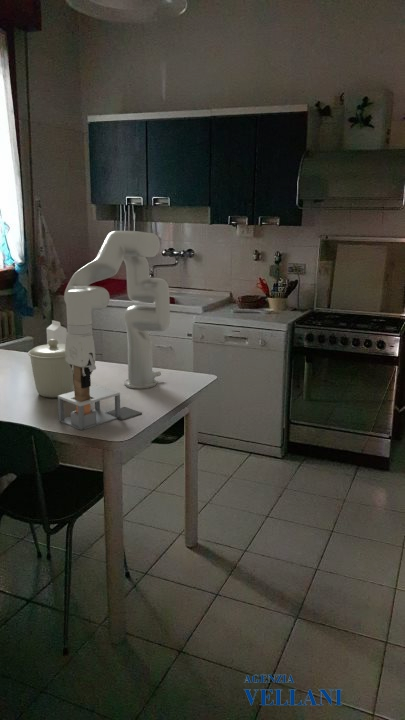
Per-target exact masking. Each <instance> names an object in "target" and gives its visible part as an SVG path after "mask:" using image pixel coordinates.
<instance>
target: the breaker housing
mask: <svg viewBox="0 0 405 720" xmlns="http://www.w3.org/2000/svg"><path fill="white" fill-rule="evenodd" d="M111 398H114V410H115V414H114V415H115V416H111V414H112V413H110V415H109V414H108V413H109V411H107V410H104V409H102V408H101V401H103V400H108V399H111ZM64 401H65V402H68V403H70V404H73V405H75V406H76V405H78V414H77V413H76V410H74V411H71V412H70V416H67V417H65V410H64ZM93 403H94V409H90V412H91V413H89V414H85V415H84V406H83V405H87V404H90V405H91V404H93ZM57 407H58V408H57V409H58V422H60V423H62V424H65V425H68V426H70V427H72V428H74V429H77V430H79V431H84V430H87V429H89V428H90V429H91V428H94V427H96V426H99V425H102V424H105V423H108V422H111V421H115V420H118V419H117V417H120V408H121V393H120V392H119V391H116V390H114V389H113V390H112V389H110V388H107V387H104V386H101V385H98V384H96V385H91V386H90V400H87V401H83V402H79V401H77V400H75V392H74V390H73V391H72V392H69V393H65V394H62V395H58V397H57ZM107 412H108V413H107Z"/></svg>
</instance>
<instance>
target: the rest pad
mask: <svg viewBox="0 0 405 720" xmlns="http://www.w3.org/2000/svg"><path fill="white" fill-rule="evenodd" d="M108 412H109V413H108ZM107 413H108V414H109V415H110V413H112V414H111V416H115V415H114V414H115V409H112V410H109V411H107ZM142 414H143V412H142V411H138V410H135V409H133V408H130V407H127V406H122V407H120V417H117V419H116V420H119V421H125V420H127V419H128V420H129V419H131V418H134V417H136V416H139V415H142Z"/></svg>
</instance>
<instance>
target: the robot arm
mask: <svg viewBox="0 0 405 720" xmlns="http://www.w3.org/2000/svg"><path fill="white" fill-rule="evenodd" d="M160 241H161V240H160V238H159V237H158V235H157V234H156V233H153V232H146V231H139V230H138V231H137V230H113V231H111V232H109V233H108V234H107V235H106V237H105V238H104V241H103V243H102V244H101V247H100V248H99V251H98V253H97V255H96V256H95V258H94V259H93V260H91V262H88V263H87V264H85V265H84V266H82V267H81V268H79V269H78V270H77V271H75V272H74V273H73V275H72V276H71V278H69V281H68V283H67V285H66V288H65V290H64V297H63V299H64V304H66V306H65V307H66V323H67V325H66V327H67V328H66V329H67V335H66V343H65V359H66V362H67V363H68V364H69V365H70V366H71V368H72V373H73V383H74V369H73V365H74V366H78V367H81V368H82V375H83V376H81V386H82V388H87V387H92V385H91V382H92V381H91V376H92V373H93V372H94V371H95V370H96V369H97V366H96V347H95V341H94V336H93V317H92V315H93V313H92V311H102V310H104V309H105V308H107V307H108V305H109V303H110V300H111V299H110V298H111V297H110V292H109V291H108V290H107V288H105V287H102V286H97V285H91V284H93V283H96V282H99V281H103V280H106V279H109V278H112V277H114V276H115V275H117V273H118V272H119V270H120V267H121V266H122V263H123V262H124V265H125V271H126V292H127V297H128V299H129V301H132V302H134V303H143V305H142V304H133V305H130V306H128V307H127V308H126V309H125V311H124V315H123V317H124V318H123V319H124V324H125V328H126V334H127V335H126V338H127V372H128V373H127V377H128V378H127V379H126V380H125V381H124V386H125V387H127V388H130V389H138V390H139V389H143V390H145V389H151V388H154V387H155V386H156V385H157V379H155V378H156V377H160V376H162V372H161V371H160V370H158V371H155V372H154V370H153V339H152V337H151V335H150V333H149V332H157V333H158V332H161V333H162V332H165V331H167V330H168V329H169V326H170V322H171V316H170V315H171V310H170V307H171V306H170V303H171V301H170V300H171V299H170V288H169V284H168V282H167V280H165V279H164V278H159V277H151V276H150V266H149V265H150V264H149V262H148V259H147V258H153V257H156V256H157V255H158V254H159V253H160V247H161V242H160ZM144 303H145V304H154V305H144ZM85 368H87V369H86V371H85Z"/></svg>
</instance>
